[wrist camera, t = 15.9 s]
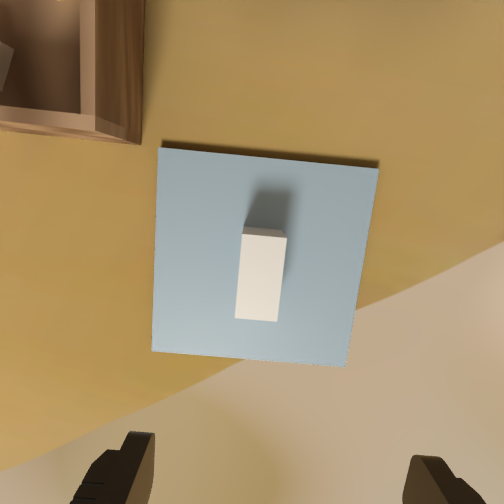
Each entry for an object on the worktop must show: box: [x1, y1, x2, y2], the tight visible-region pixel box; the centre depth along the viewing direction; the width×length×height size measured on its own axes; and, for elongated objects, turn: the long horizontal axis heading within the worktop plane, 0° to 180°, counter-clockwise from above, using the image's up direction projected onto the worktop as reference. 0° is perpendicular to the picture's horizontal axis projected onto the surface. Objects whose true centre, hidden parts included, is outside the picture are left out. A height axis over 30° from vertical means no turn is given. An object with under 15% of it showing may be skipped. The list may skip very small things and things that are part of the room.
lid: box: [152, 147, 379, 367], centre depth 33 cm, size 22×22×7 cm
